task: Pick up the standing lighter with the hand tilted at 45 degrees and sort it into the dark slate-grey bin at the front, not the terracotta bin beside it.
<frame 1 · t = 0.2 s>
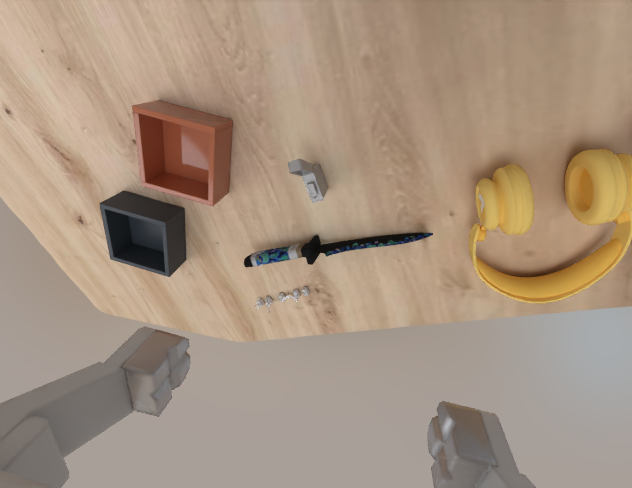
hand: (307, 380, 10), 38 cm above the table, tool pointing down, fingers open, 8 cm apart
grey bin: (156, 227, 58), on the table
headset: (533, 220, 44), on the table
figurines set: (283, 296, 61), on the table
terracotta bin: (195, 149, 49), on the table
lighter: (315, 168, 47), on the table
knife: (336, 240, 52), on the table
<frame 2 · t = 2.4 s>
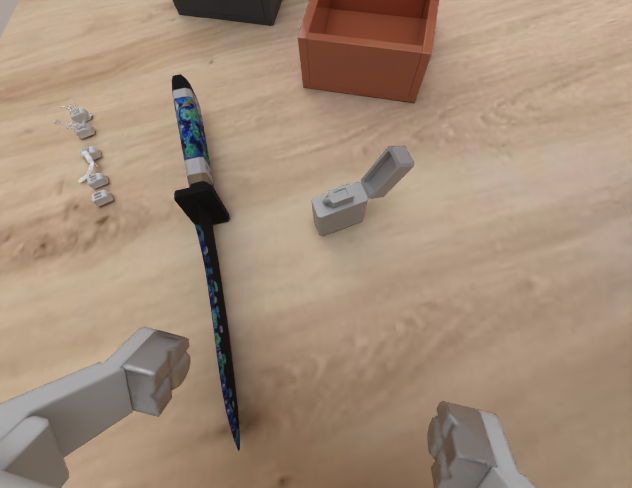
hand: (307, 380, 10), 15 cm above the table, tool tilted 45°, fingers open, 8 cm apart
figurines set: (91, 158, 31), on the table
terracotta bin: (367, 52, 34), on the table
lighter: (353, 215, 28), on the table
knife: (216, 253, 28), on the table
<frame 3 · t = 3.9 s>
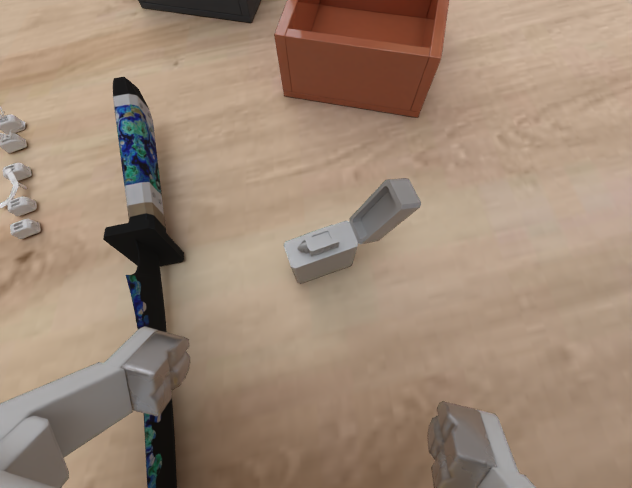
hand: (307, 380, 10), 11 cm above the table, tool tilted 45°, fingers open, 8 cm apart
figurines set: (20, 176, 26), on the table
terracotta bin: (361, 56, 28), on the table
lighter: (341, 257, 22), on the table
knife: (166, 304, 22), on the table
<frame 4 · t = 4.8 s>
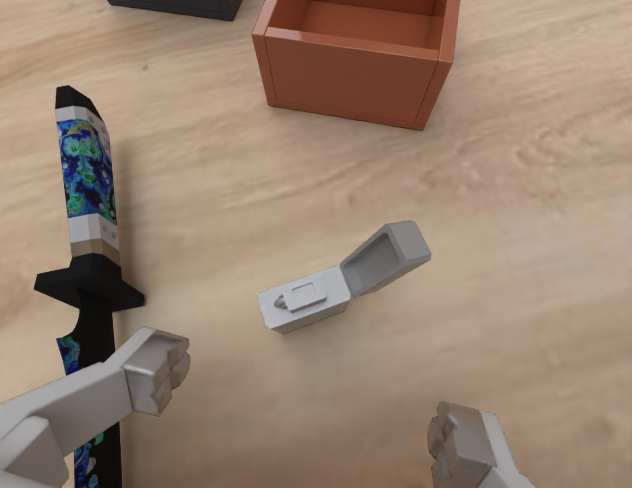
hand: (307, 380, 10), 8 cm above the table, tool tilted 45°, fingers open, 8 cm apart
terracotta bin: (358, 59, 25), on the table
lighter: (332, 300, 19), on the table
knife: (121, 358, 18), on the table
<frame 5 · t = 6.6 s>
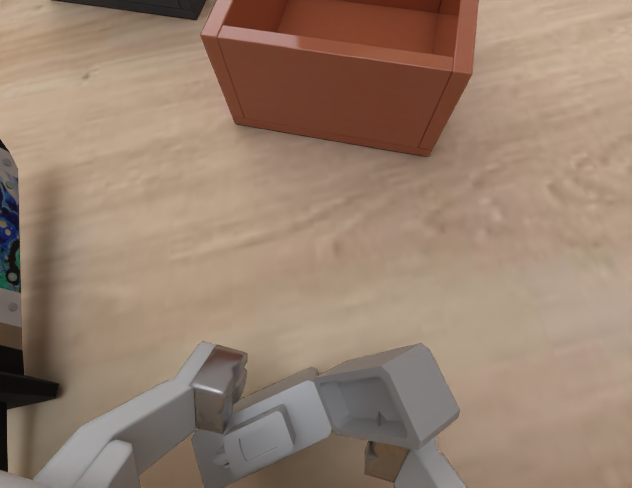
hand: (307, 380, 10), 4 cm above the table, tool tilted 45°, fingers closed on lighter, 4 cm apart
terracotta bin: (347, 66, 20), on the table
lighter: (310, 389, 14), on the table, touching gripper
knife: (23, 474, 13), on the table
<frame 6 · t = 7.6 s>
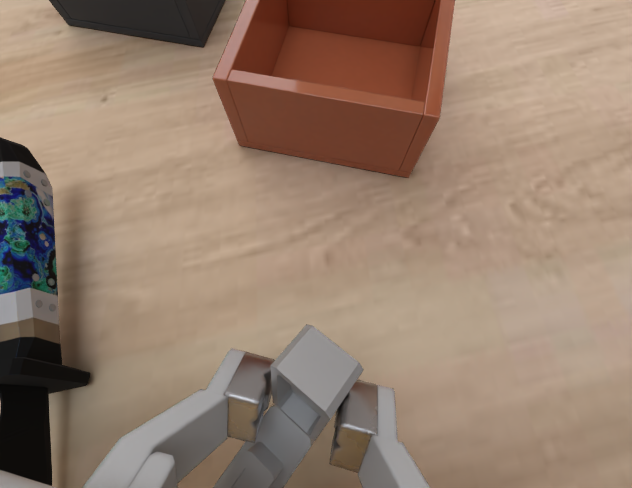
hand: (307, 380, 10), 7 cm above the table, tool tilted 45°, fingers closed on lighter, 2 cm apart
terracotta bin: (339, 94, 23), on the table
lighter: (310, 409, 14), point 2 cm above the table, touching gripper
knife: (60, 448, 16), on the table
when the fingers open (6 cm above the table, at t = 16.2 s): lighter stays where it is, point 1 cm above the table.
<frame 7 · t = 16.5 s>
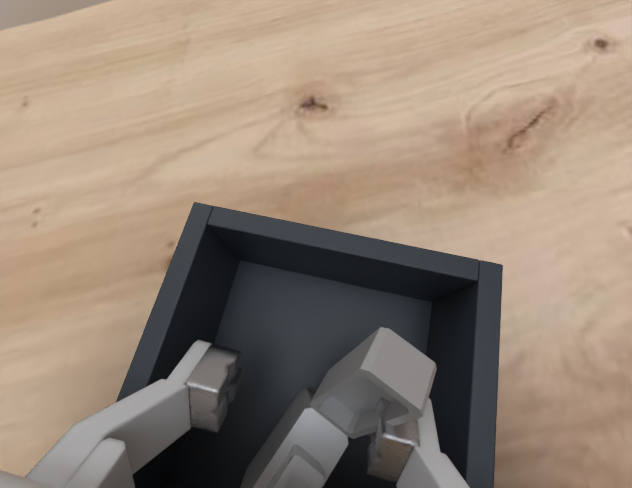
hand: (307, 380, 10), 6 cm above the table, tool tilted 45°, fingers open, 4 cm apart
grey bin: (311, 383, 15), on the table
lighter: (310, 408, 14), point 1 cm above the table
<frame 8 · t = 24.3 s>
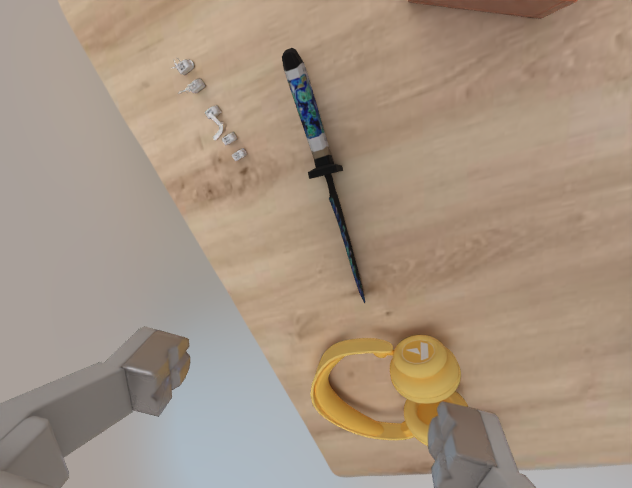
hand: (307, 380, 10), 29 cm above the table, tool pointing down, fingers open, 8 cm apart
headset: (385, 371, 48), on the table
figurines set: (211, 111, 36), on the table
knife: (335, 195, 38), on the table
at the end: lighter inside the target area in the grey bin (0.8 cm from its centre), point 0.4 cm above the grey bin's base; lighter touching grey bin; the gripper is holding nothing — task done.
